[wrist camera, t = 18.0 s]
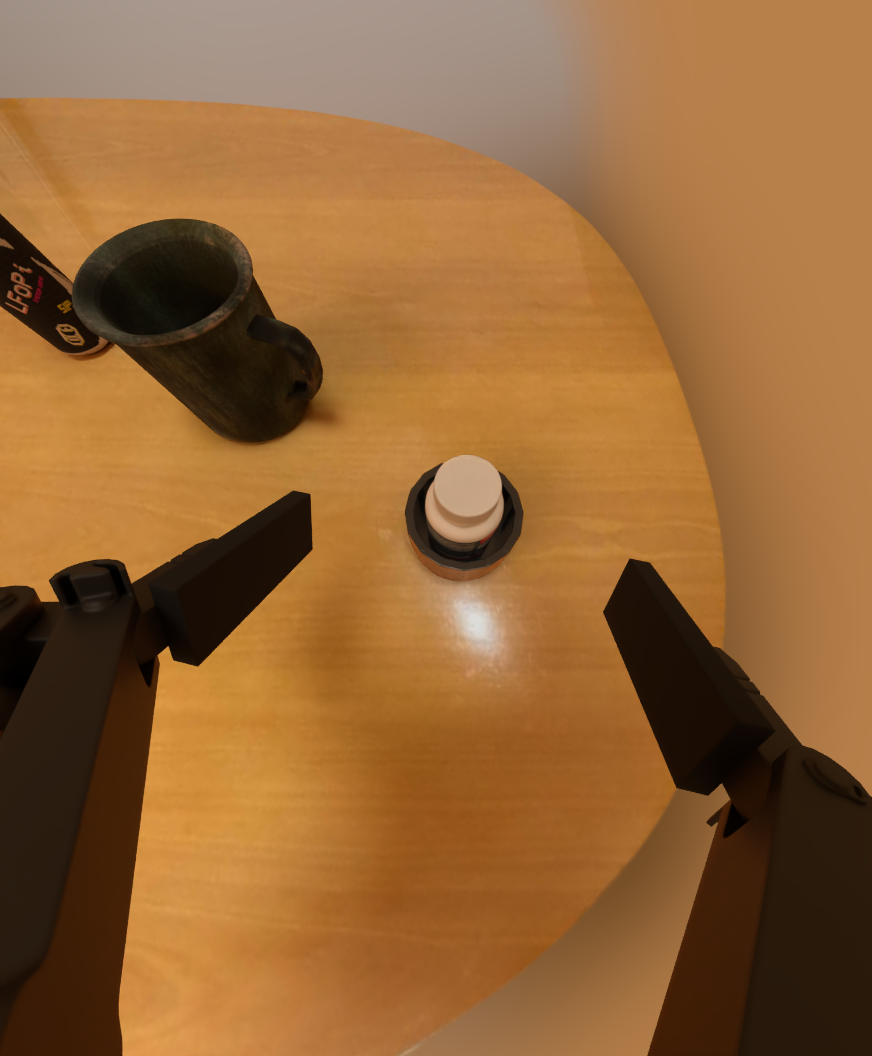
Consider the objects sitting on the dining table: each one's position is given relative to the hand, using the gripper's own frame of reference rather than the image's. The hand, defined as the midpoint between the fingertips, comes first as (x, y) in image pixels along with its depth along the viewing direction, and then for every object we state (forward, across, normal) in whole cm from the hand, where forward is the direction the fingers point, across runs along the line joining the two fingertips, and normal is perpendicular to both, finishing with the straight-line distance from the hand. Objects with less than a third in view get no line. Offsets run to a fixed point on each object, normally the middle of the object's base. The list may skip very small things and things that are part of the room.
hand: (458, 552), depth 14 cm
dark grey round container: (+13, 0, -6) cm, 14 cm away
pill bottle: (+13, 0, -6) cm, 14 cm away
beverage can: (+22, -42, +3) cm, 48 cm away
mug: (+19, -20, 0) cm, 28 cm away
